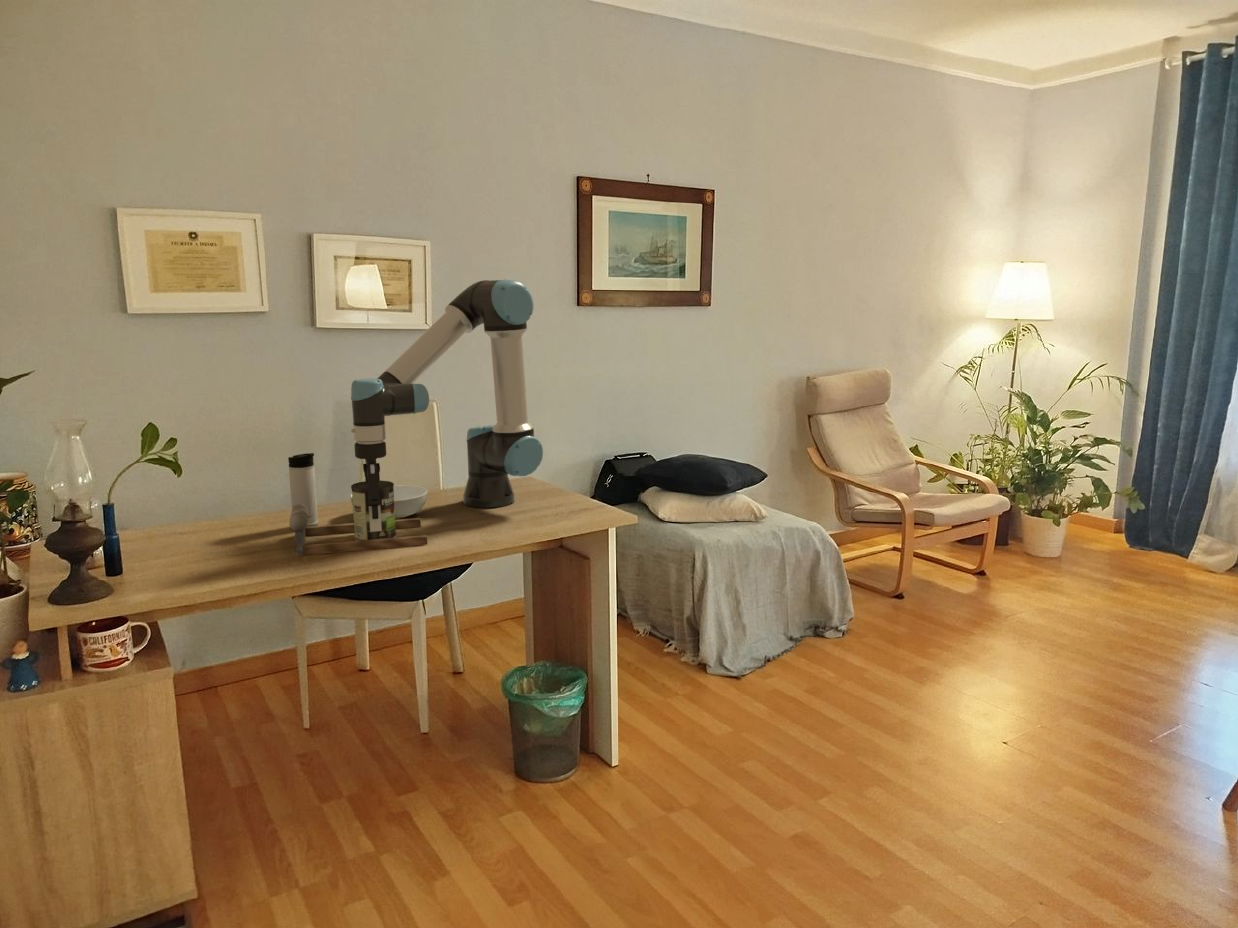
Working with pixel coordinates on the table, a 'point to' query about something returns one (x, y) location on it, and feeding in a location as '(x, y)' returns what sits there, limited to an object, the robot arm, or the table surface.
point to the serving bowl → (407, 500)
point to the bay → (300, 522)
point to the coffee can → (362, 512)
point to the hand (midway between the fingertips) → (374, 524)
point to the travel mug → (304, 485)
